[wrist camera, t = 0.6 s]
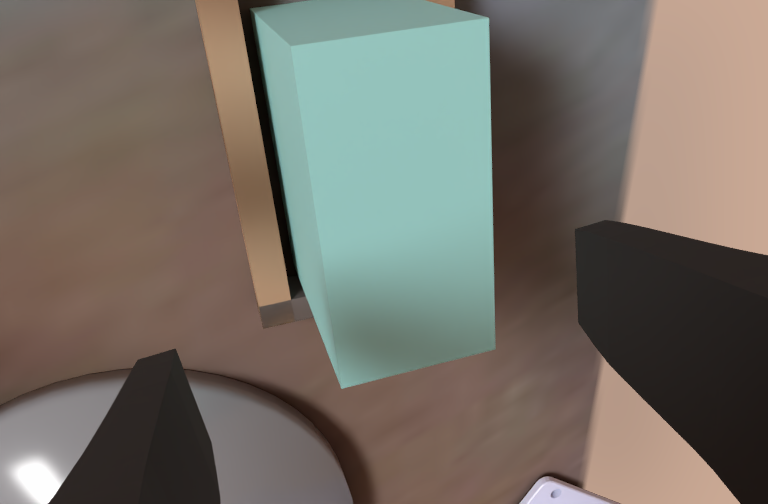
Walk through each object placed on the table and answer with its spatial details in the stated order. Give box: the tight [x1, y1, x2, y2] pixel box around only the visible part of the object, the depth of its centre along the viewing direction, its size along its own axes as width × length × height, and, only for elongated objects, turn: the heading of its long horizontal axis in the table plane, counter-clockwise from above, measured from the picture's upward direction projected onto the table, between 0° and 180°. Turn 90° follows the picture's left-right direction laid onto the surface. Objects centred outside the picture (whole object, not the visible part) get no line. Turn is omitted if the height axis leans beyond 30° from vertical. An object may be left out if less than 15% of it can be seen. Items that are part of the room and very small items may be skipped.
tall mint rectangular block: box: [250, 0, 495, 388], centre depth 18 cm, size 8×4×7 cm, turn 6°
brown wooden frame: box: [195, 0, 455, 329], centre depth 20 cm, size 10×7×2 cm, turn 6°
